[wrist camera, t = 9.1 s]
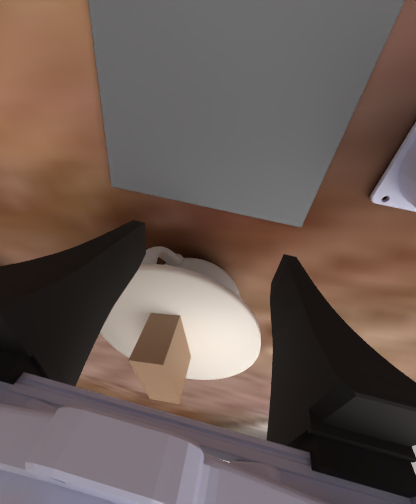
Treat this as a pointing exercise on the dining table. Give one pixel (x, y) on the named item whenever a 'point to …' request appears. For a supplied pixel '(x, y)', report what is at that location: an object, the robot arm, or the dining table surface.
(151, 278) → the lid
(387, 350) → the dining table surface
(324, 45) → the mat
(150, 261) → the teacup
